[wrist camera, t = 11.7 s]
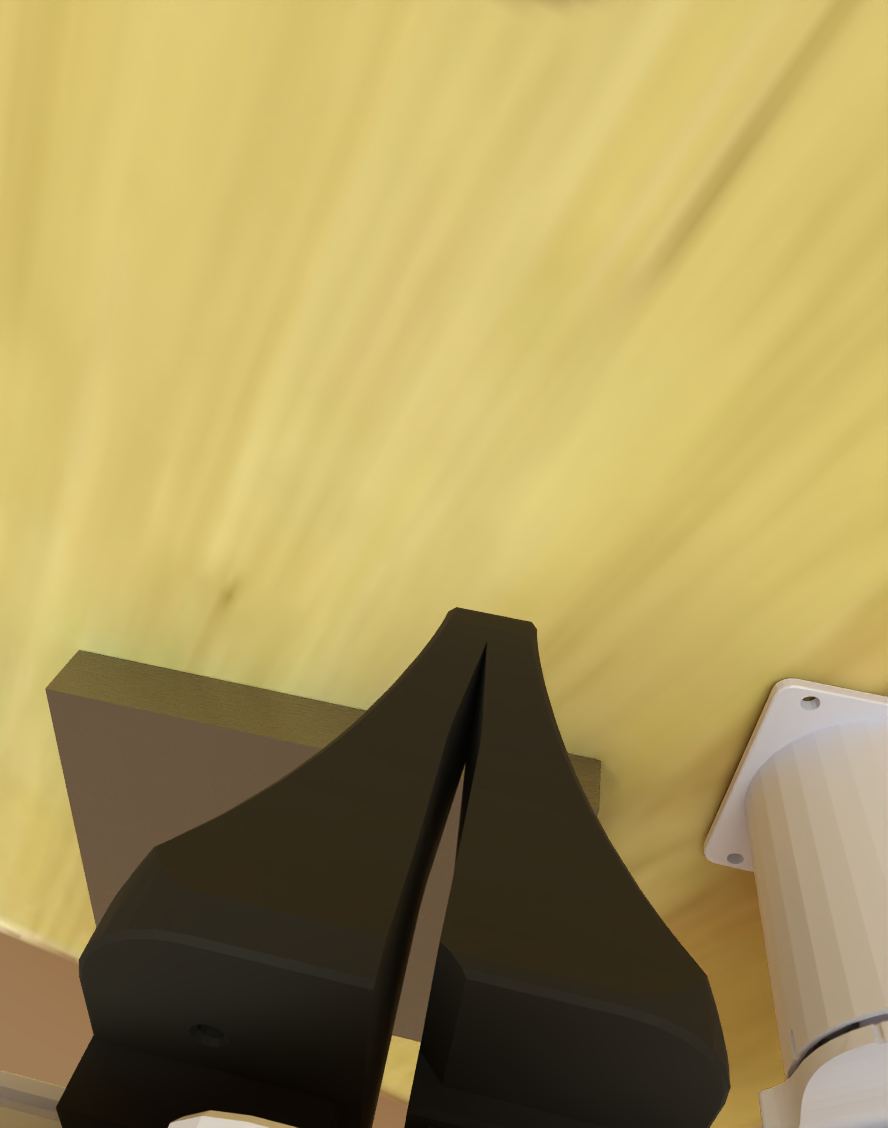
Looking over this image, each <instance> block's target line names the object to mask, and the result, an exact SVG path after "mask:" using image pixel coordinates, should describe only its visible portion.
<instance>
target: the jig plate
mask: <svg viewBox="0 0 888 1128" xmlns="http://www.w3.org/2000/svg"><path fill="white" fill-rule="evenodd" d="M45 689H46V694H47V699H48V703H49V708H50V713H51V717H52V722H53V727H54V731H55V736H56V741H57V745H58V750H59V755H60V759H61V764H62V769H63V773H64V778H65V783H66V788H67V792H68V797H69V802H70V806H71V811H72V816H73V820H74V825H75V830H76V834H77V839H78V844H79V848H80V853H81V858H82V862H83V867H84V872H85V876H86V881H87V886H88V890H89V895H90V900H91V904H92V909H93V914H94V919H95V923H96V928H97V926H98V924H99V923H100V921H101V919H102V917H103V916H104V914H105V912H106V910H107V908H108V907H109V905H110V903H111V902H112V900H113V899H114V897H115V896H116V894H117V893H118V892H119V890H120V889H121V888H122V886H123V885H124V884H125V883H126V881H127V880H128V879H129V877H130V876H131V874H132V873H133V872H134V870H135V869H136V868H137V867H138V866H139V864H140V863H141V862H142V861H143V859H144V858H145V857H146V856H147V854H148V853H149V852H150V851H151V850H152V849H153V848H154V847H155V846H157V845H159V844H162V843H164V842H166V841H168V840H170V839H172V838H174V837H176V836H178V835H180V834H183V833H185V832H187V831H189V830H191V829H193V828H195V827H197V826H199V825H201V824H203V823H205V822H207V821H209V820H211V819H213V818H215V817H217V816H219V815H221V814H223V813H225V812H227V811H228V810H230V809H232V808H233V807H235V806H237V805H238V804H240V803H242V802H243V801H245V800H247V799H249V798H250V797H252V796H254V795H255V794H257V793H259V792H260V791H262V790H264V789H265V788H267V787H269V786H270V785H272V784H274V783H275V782H277V781H278V780H280V779H281V778H283V777H284V776H286V775H287V774H289V773H290V772H292V771H293V770H294V769H296V768H297V767H299V766H300V765H301V764H303V763H304V762H305V761H307V760H308V759H309V758H311V757H312V756H314V755H315V754H316V753H318V752H319V751H320V750H322V749H323V748H324V747H325V746H327V745H328V744H329V743H330V742H332V741H333V740H334V739H335V738H337V737H338V736H339V735H340V734H341V733H343V732H344V731H345V730H346V729H347V728H348V727H350V726H351V725H352V724H353V723H354V722H355V721H356V720H357V719H358V718H360V717H361V716H362V715H363V714H364V713H365V712H366V711H363V710H359V709H354V708H349V707H344V706H340V705H335V704H330V703H325V702H321V701H316V700H311V699H307V698H302V697H297V696H292V695H288V694H283V693H278V692H274V691H269V690H264V689H259V688H255V687H250V686H245V685H241V684H236V683H231V682H226V681H222V680H217V679H212V678H208V677H203V676H198V675H193V674H189V673H184V672H179V671H174V670H170V669H165V668H160V667H156V666H151V665H146V664H141V663H137V662H132V661H127V660H123V659H118V658H113V657H108V656H104V655H99V654H94V653H90V652H85V651H80V650H79V651H78V652H77V653H76V654H75V655H74V656H73V657H72V659H71V660H70V661H69V662H68V663H67V664H66V666H65V667H64V668H63V669H62V670H61V671H60V672H59V674H58V675H57V676H56V677H55V678H54V679H53V680H52V682H51V683H50V684H49V685H48V686H47V687H46V688H45ZM568 756H569V758H570V761H571V763H572V766H573V768H574V771H575V773H576V775H577V777H578V780H579V782H580V784H581V786H582V788H583V791H584V793H585V795H586V797H587V799H588V801H589V803H590V805H591V807H592V809H593V811H594V813H595V815H596V816H597V814H598V811H599V797H600V768H601V761H599V760H594V759H590V758H585V757H580V756H576V755H571V754H568ZM464 771H465V766H464V769H463V772H462V776H461V779H460V782H459V785H458V788H457V791H456V794H455V797H454V800H453V804H452V807H451V810H450V813H449V816H448V819H447V822H446V825H445V828H444V831H443V834H442V838H441V841H440V844H439V847H438V850H437V853H436V856H435V859H434V862H433V865H432V868H431V871H430V875H429V878H428V881H427V884H426V888H425V892H424V895H423V899H422V902H421V906H420V910H419V915H418V919H417V924H416V928H415V933H414V937H413V942H412V946H411V951H410V955H409V960H408V964H407V969H406V973H405V978H404V982H403V987H402V991H401V996H400V1000H399V1005H398V1009H397V1014H396V1019H395V1023H394V1028H393V1032H392V1035H394V1036H398V1037H403V1038H407V1039H411V1040H415V1041H419V1042H421V1039H422V1034H423V1028H424V1023H425V1017H426V1012H427V1007H428V1001H429V996H430V990H431V985H432V980H433V974H434V969H435V963H436V958H437V952H438V947H439V942H440V937H441V932H442V927H443V923H444V918H445V913H446V908H447V904H448V899H449V894H450V889H451V885H452V880H453V875H454V866H455V857H456V847H457V838H458V828H459V819H460V809H461V800H462V790H463V781H464Z"/></svg>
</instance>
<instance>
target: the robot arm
mask: <svg viewBox="0 0 888 1128" xmlns="http://www.w3.org/2000/svg"><path fill="white" fill-rule="evenodd" d="M808 696H814V697H816V698H815V699H814V700H811V701H804V700H802V699H803V698H806V697H808ZM464 766H465V771H464V781H463V790H462V800H461V809H460V819H459V828H458V838H457V847H456V857H455V866H454V875H453V880H452V885H451V889H450V894H449V899H448V904H447V908H446V913H445V918H444V923H443V927H442V932H441V937H440V942H439V947H438V952H437V958H436V963H435V969H434V974H433V980H432V985H431V990H430V996H429V1001H428V1007H427V1012H426V1017H425V1023H424V1028H423V1034H422V1039H421V1045H420V1050H419V1055H418V1060H417V1065H416V1070H415V1075H414V1080H413V1085H412V1090H411V1095H410V1100H409V1105H408V1110H407V1115H406V1122H405V1127H404V1128H710V1126H711V1125H712V1123H713V1121H714V1120H715V1118H716V1117H717V1115H718V1114H719V1112H720V1111H721V1109H722V1107H723V1106H724V1104H725V1102H726V1099H727V1096H728V1093H729V1090H730V1079H729V1064H728V1056H727V1051H726V1046H725V1041H724V1037H723V1032H722V1027H721V1023H720V1019H719V1015H718V1011H717V1007H716V1004H715V1001H714V997H713V994H712V991H711V987H710V984H709V981H708V978H707V975H706V974H705V973H704V972H703V970H702V969H701V968H700V967H699V965H698V964H697V963H696V962H695V961H694V959H693V958H692V957H691V956H690V955H689V953H688V952H687V951H686V950H685V948H684V947H683V946H682V945H681V944H680V942H679V941H678V940H677V939H676V937H675V936H674V935H673V934H672V932H671V931H670V930H669V928H668V927H667V926H666V925H665V923H664V922H663V921H662V919H661V918H660V916H659V915H658V914H657V912H656V911H655V909H654V908H653V907H652V905H651V904H650V902H649V901H648V900H647V898H646V897H645V895H644V894H643V893H642V891H641V890H640V888H639V887H638V885H637V883H636V882H635V880H634V879H633V877H632V875H631V874H630V872H629V871H628V869H627V867H626V866H625V864H624V863H623V861H622V860H621V858H620V856H619V855H618V853H617V852H616V850H615V848H614V847H613V845H612V844H611V842H610V840H609V839H608V837H607V835H606V833H605V831H604V829H603V828H602V826H601V824H600V822H599V820H598V818H597V816H596V815H595V813H594V811H593V809H592V807H591V805H590V803H589V801H588V799H587V797H586V795H585V793H584V791H583V788H582V786H581V784H580V782H579V780H578V777H577V775H576V773H575V771H574V768H573V766H572V763H571V761H570V758H569V756H568V753H567V751H566V748H565V745H564V743H563V740H562V738H561V735H560V732H559V729H558V726H557V723H556V720H555V717H554V713H553V710H552V707H551V704H550V700H549V697H548V694H547V690H546V686H545V682H544V678H543V673H542V668H541V664H540V658H539V652H538V643H537V629H536V627H535V626H534V625H533V623H532V622H529V621H523V620H518V619H513V618H508V617H503V616H498V615H493V614H488V613H483V612H478V611H473V610H468V609H463V608H458V607H456V608H454V609H452V610H450V611H449V612H448V613H447V615H446V617H445V619H444V621H443V622H442V624H441V625H440V627H439V628H438V630H437V631H436V633H435V634H434V636H433V637H432V638H431V640H430V641H429V642H428V644H427V645H426V646H425V648H424V649H423V650H422V651H421V653H420V654H419V655H418V656H417V658H416V659H415V660H414V661H413V662H412V663H411V665H410V666H409V667H408V668H407V669H406V670H405V671H404V673H403V674H402V675H401V676H400V677H399V678H398V680H397V681H396V682H395V683H394V684H393V685H392V686H391V687H390V688H389V689H388V690H387V691H386V692H385V693H384V694H383V695H382V696H381V697H380V698H379V699H378V700H377V701H376V702H375V703H374V704H373V705H372V706H371V707H370V708H369V709H368V710H367V711H366V712H365V713H364V714H363V715H362V716H361V717H360V718H358V719H357V720H356V721H355V722H354V723H353V724H352V725H351V726H350V727H348V728H347V729H346V730H345V731H344V732H343V733H341V734H340V735H339V736H338V737H337V738H335V739H334V740H333V741H332V742H330V743H329V744H328V745H327V746H325V747H324V748H323V749H322V750H320V751H319V752H318V753H316V754H315V755H314V756H312V757H311V758H309V759H308V760H307V761H305V762H304V763H303V764H301V765H300V766H299V767H297V768H296V769H294V770H293V771H292V772H290V773H289V774H287V775H286V776H284V777H283V778H281V779H280V780H278V781H277V782H275V783H274V784H272V785H270V786H269V787H267V788H265V789H264V790H262V791H260V792H259V793H257V794H255V795H254V796H252V797H250V798H249V799H247V800H245V801H243V802H242V803H240V804H238V805H237V806H235V807H233V808H232V809H230V810H228V811H227V812H225V813H223V814H221V815H219V816H217V817H215V818H213V819H211V820H209V821H207V822H205V823H203V824H201V825H199V826H197V827H195V828H193V829H191V830H189V831H187V832H185V833H183V834H180V835H178V836H176V837H174V838H172V839H170V840H168V841H166V842H164V843H162V844H159V845H157V846H155V847H154V848H153V849H152V850H151V851H150V852H149V853H148V854H147V856H146V857H145V858H144V859H143V861H142V862H141V863H140V864H139V866H138V867H137V868H136V869H135V870H134V872H133V873H132V874H131V876H130V877H129V879H128V880H127V881H126V883H125V884H124V885H123V886H122V888H121V889H120V890H119V892H118V893H117V894H116V896H115V897H114V899H113V900H112V902H111V903H110V905H109V907H108V908H107V910H106V912H105V914H104V916H103V917H102V919H101V921H100V923H99V924H98V926H97V928H96V930H95V932H94V933H93V935H92V937H91V939H90V940H89V942H88V944H87V946H86V948H85V949H84V951H83V953H82V955H81V957H80V959H79V978H80V982H81V986H82V990H83V994H84V998H85V1002H86V1005H87V1010H88V1014H89V1018H90V1022H91V1026H92V1030H93V1034H94V1035H93V1037H92V1040H91V1041H90V1043H89V1045H88V1047H87V1049H86V1051H85V1053H84V1055H83V1056H82V1058H81V1060H80V1062H79V1064H78V1066H77V1068H76V1070H75V1072H74V1074H73V1075H72V1077H71V1079H70V1081H69V1083H68V1085H67V1087H64V1086H59V1085H56V1084H52V1083H48V1082H45V1081H41V1080H37V1079H33V1078H29V1077H26V1076H22V1075H18V1074H14V1073H10V1072H7V1071H2V1070H0V1128H372V1124H373V1120H374V1115H375V1111H376V1106H377V1101H378V1097H379V1092H380V1087H381V1083H382V1078H383V1074H384V1069H385V1064H386V1060H387V1055H388V1051H389V1046H390V1041H391V1037H392V1032H393V1028H394V1023H395V1019H396V1014H397V1009H398V1005H399V1000H400V996H401V991H402V987H403V982H404V978H405V973H406V969H407V964H408V960H409V955H410V951H411V946H412V942H413V937H414V933H415V928H416V924H417V919H418V915H419V910H420V906H421V902H422V899H423V895H424V892H425V888H426V884H427V881H428V878H429V875H430V871H431V868H432V865H433V862H434V859H435V856H436V853H437V850H438V847H439V844H440V841H441V838H442V834H443V831H444V828H445V825H446V822H447V819H448V816H449V813H450V810H451V807H452V804H453V800H454V797H455V794H456V791H457V788H458V785H459V782H460V779H461V776H462V772H463V769H464ZM703 849H704V856H705V857H706V859H707V860H709V861H710V862H712V863H715V864H719V865H723V866H728V867H733V868H737V869H742V870H746V871H751V872H754V876H755V882H756V889H757V896H758V902H759V909H760V915H761V922H762V929H763V935H764V942H765V949H766V955H767V962H768V968H769V975H770V982H771V988H772V995H773V1001H774V1008H775V1015H776V1021H777V1028H778V1035H779V1041H780V1048H781V1054H782V1061H783V1068H784V1074H785V1081H784V1082H783V1083H781V1084H778V1085H776V1086H774V1087H771V1088H768V1089H764V1090H762V1091H760V1092H759V1102H760V1110H761V1118H762V1126H763V1128H888V697H886V696H881V695H876V694H871V693H866V692H861V691H856V690H851V689H846V688H841V687H836V686H831V685H826V684H821V683H816V682H811V681H806V680H801V679H794V678H788V679H784V680H781V681H779V682H778V683H776V684H775V686H774V687H773V689H772V691H771V693H770V695H769V698H768V700H767V702H766V704H765V707H764V709H763V711H762V713H761V716H760V718H759V720H758V722H757V725H756V727H755V729H754V731H753V734H752V736H751V738H750V740H749V743H748V745H747V747H746V749H745V752H744V754H743V756H742V758H741V761H740V763H739V765H738V767H737V770H736V772H735V774H734V776H733V779H732V781H731V783H730V786H729V788H728V790H727V792H726V795H725V797H724V799H723V801H722V804H721V806H720V808H719V810H718V813H717V815H716V817H715V819H714V822H713V824H712V826H711V828H710V831H709V833H708V835H707V837H706V840H705V842H704V846H703ZM733 853H737V854H733Z"/></svg>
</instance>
